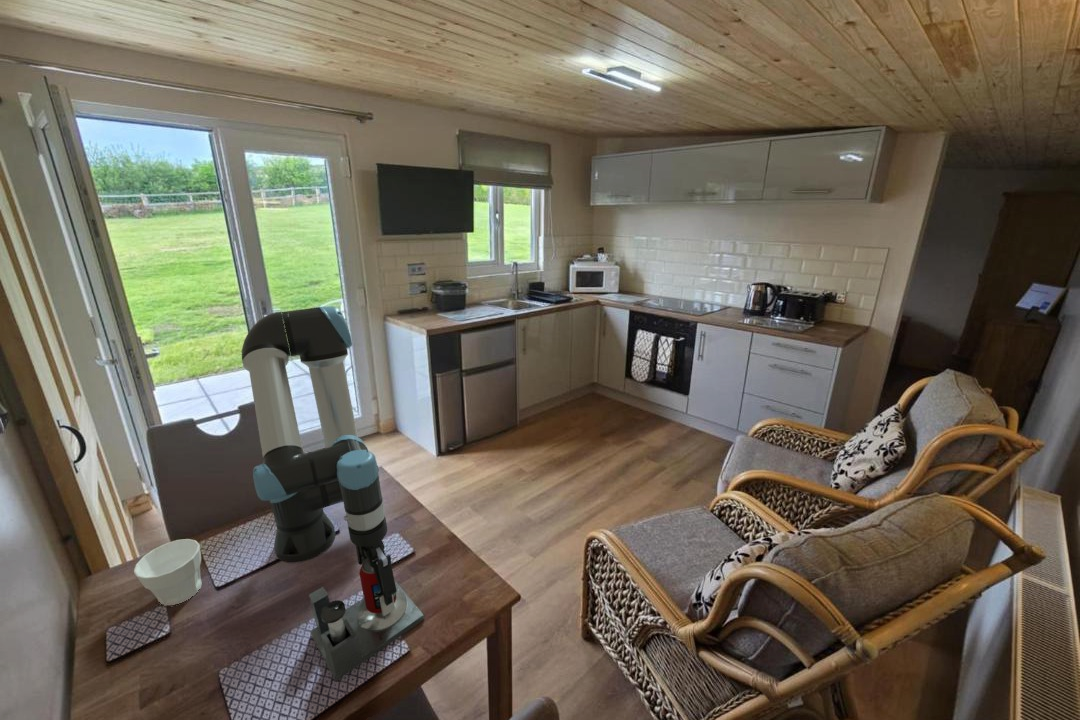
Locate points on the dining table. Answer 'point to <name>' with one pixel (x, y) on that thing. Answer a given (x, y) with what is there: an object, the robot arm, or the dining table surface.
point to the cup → (171, 571)
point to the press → (361, 631)
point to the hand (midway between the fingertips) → (381, 601)
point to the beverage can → (370, 588)
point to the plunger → (335, 620)
